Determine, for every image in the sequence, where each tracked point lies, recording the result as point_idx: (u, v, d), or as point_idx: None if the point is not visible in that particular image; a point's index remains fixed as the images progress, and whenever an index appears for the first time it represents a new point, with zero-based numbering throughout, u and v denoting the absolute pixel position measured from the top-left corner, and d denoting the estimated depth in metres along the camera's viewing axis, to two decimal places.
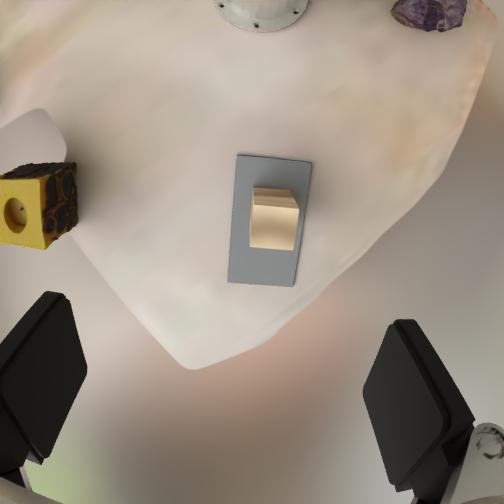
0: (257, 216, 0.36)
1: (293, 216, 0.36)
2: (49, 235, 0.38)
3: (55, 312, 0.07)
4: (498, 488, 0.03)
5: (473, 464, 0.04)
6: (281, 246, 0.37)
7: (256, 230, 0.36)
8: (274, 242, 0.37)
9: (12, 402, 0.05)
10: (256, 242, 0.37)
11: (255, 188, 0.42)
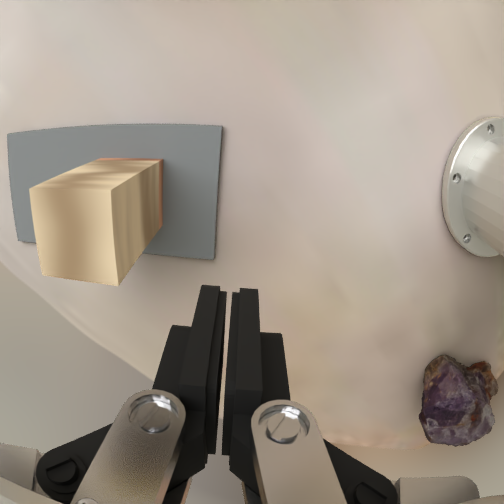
0: (87, 199, 0.14)
1: (101, 274, 0.15)
2: None
3: (225, 305, 0.08)
4: (263, 476, 0.04)
5: (272, 460, 0.04)
6: (43, 252, 0.15)
7: (60, 199, 0.14)
8: (45, 239, 0.15)
9: None
10: (39, 201, 0.14)
11: (158, 166, 0.21)
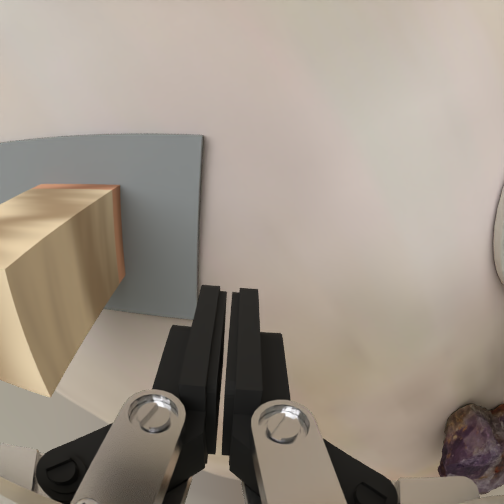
0: None
1: (25, 381, 0.08)
2: None
3: (225, 305, 0.08)
4: (263, 476, 0.04)
5: (273, 460, 0.04)
6: None
7: None
8: None
9: None
10: None
11: (110, 197, 0.14)
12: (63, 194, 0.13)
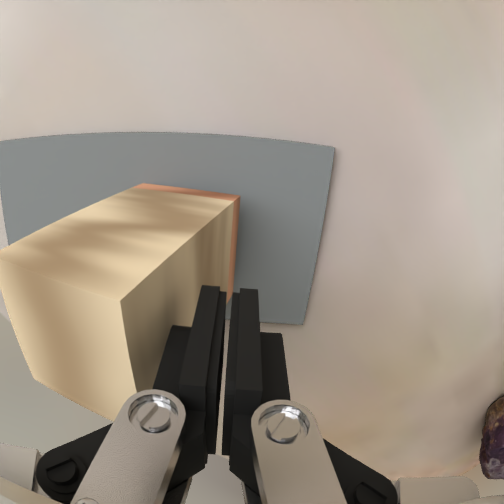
0: (78, 305, 0.07)
1: None
2: None
3: (225, 304, 0.08)
4: (263, 476, 0.04)
5: (273, 460, 0.04)
6: (28, 353, 0.09)
7: (35, 289, 0.07)
8: (28, 339, 0.08)
9: None
10: (7, 280, 0.07)
11: (231, 209, 0.13)
12: (175, 200, 0.13)
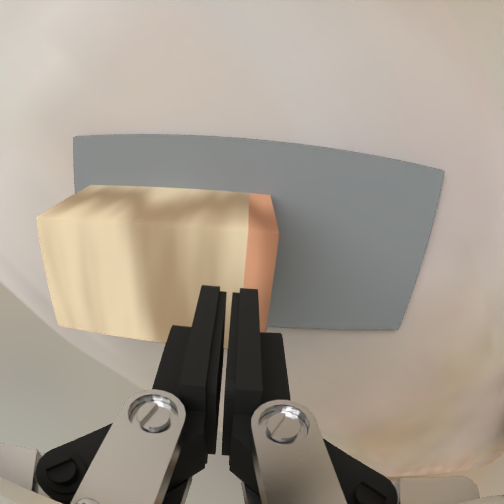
0: None
1: None
2: None
3: (225, 305, 0.08)
4: (263, 476, 0.04)
5: (273, 460, 0.04)
6: None
7: None
8: None
9: None
10: None
11: (240, 239, 0.11)
12: (222, 208, 0.12)
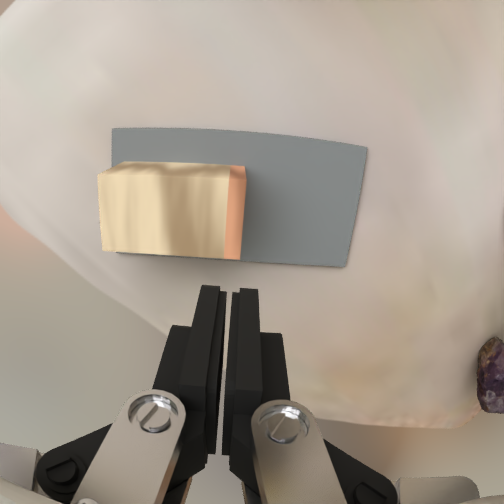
0: None
1: None
2: None
3: (225, 304, 0.08)
4: (263, 476, 0.04)
5: (273, 460, 0.04)
6: None
7: None
8: None
9: None
10: None
11: (224, 184, 0.18)
12: (213, 171, 0.20)
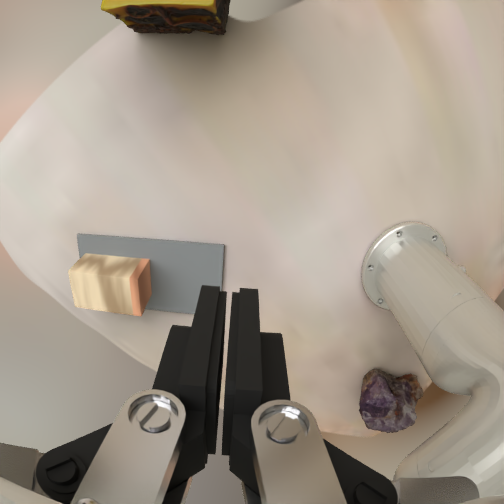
0: None
1: None
2: (123, 10, 0.20)
3: (225, 304, 0.08)
4: (263, 476, 0.04)
5: (273, 460, 0.04)
6: None
7: None
8: None
9: None
10: None
11: (127, 280, 0.34)
12: (126, 268, 0.36)
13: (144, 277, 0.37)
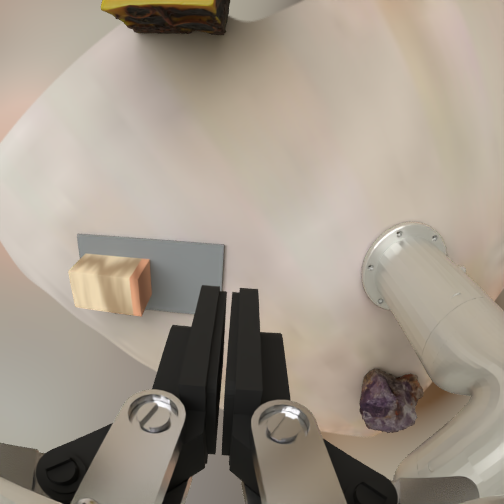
0: None
1: None
2: (122, 10, 0.20)
3: (225, 304, 0.08)
4: (263, 476, 0.04)
5: (273, 460, 0.04)
6: None
7: None
8: None
9: None
10: None
11: (127, 280, 0.34)
12: (127, 268, 0.36)
13: (144, 277, 0.37)
